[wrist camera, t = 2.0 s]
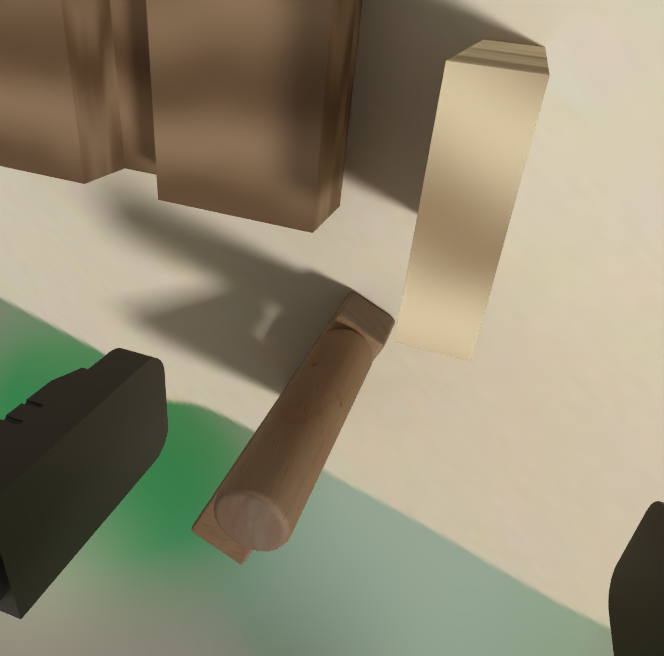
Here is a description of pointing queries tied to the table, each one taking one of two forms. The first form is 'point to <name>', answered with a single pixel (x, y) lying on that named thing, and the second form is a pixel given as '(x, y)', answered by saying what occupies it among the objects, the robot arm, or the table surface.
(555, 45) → the table surface
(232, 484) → the wooden toy block structure
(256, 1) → the slotted plate
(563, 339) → the table surface
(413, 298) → the maple slat
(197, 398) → the table surface
